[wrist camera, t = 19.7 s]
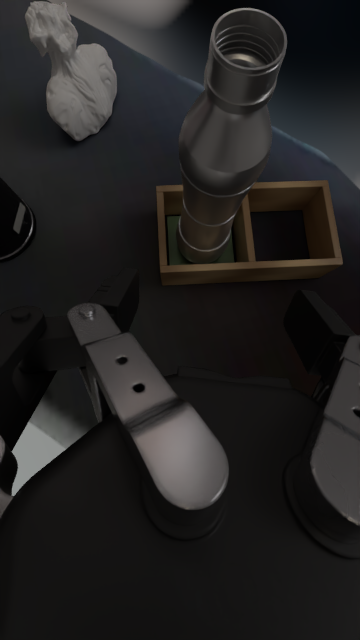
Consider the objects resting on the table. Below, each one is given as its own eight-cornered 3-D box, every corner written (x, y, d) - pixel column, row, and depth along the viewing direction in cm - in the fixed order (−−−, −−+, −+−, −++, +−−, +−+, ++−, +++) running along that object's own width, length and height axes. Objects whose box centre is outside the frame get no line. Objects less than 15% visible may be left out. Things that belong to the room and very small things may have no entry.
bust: (114, 102, 37) (47, -3, 28) (142, 84, 32) (72, -49, 23) (70, 158, 35) (-15, 64, 26) (93, 149, 30) (-3, 29, 21)
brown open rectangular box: (162, 285, 30) (160, 272, 25) (158, 210, 31) (156, 185, 27) (318, 278, 30) (343, 264, 26) (306, 204, 32) (327, 180, 28)
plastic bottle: (226, 224, 31) (317, -10, 11) (223, 272, 30) (320, 105, 10) (177, 220, 31) (185, -24, 11) (173, 268, 30) (173, 90, 10)
